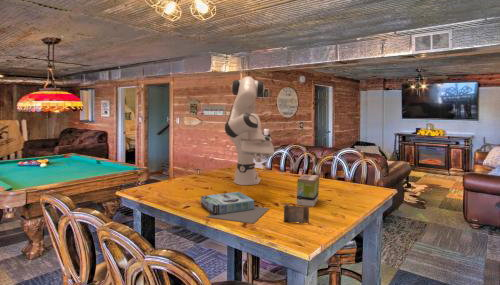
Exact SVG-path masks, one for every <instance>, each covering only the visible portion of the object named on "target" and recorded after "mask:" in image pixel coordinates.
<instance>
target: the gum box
mask: <svg viewBox="0 0 500 285" xmlns="http://www.w3.org/2000/svg"><path fill="white" fill-rule="evenodd" d="M200 205H201V206H203V207H204V208H205V209H206V210H207V211H208V212H210V214H213V215H214V214H221V213H228V212H236V211H243V210H250V209H254V206H255V199H253V198H251V197H249V196H248V195H245V193H242V192H241V191H235V192H225V193H218V194H208V195H201V196H200Z"/></svg>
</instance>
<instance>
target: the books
mask: <svg viewBox="0 0 500 285" xmlns="http://www.w3.org/2000/svg"><path fill="white" fill-rule="evenodd" d="M290 204H291V203H286V202H285V203H284V207H283V222H284V221H285V220H289V221H288V223H289V222H299V223H298V224H301V223H308V224H307V225H309V224H310V206H301V205H290ZM285 222H286V221H285Z"/></svg>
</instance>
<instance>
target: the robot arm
mask: <svg viewBox="0 0 500 285" xmlns="http://www.w3.org/2000/svg"><path fill="white" fill-rule="evenodd" d="M230 89H231V90H230V91H231V92H232V94H233V95H234V96H236V97H235V100H234V101H233V103H232V105H231V109H230V112H229V116H228V119H227V121H226V122H225V124H224V131H225V134H226V135H227V136H228V137H229V140H230V141H231V142H232V143H233V144H234V146H235V149H236V151H237V154H236V155H237V163H236V170H235V171H234V180H233V181H232V182H233V183H235V184H236V185H239V186H251V185H252V186H253V185H259V183H260V182H261V180H262V179H261V178H259V175H258V174H259V172H258V171H257V170H256V168H255V166H256V163H262V161H263V160H262V158H263V157H272V156H273V155H274V154H275V149H274V147H275V146H274V144H273V143H272V138H271V137H268V136H266V135H264V134H263V132H262V128H263V127H262V122H261V119H260V116H259V115H258V114H256V98H257V99H259V97H262V96H263V95H264V93H265V89H266V87H265V84H264V82H263V81H262V80H259V79H258V80H257V79H254V78H253V77H252V76H244V77H243V78H242V79H235V80H233V81H232V83H231V88H230ZM254 159H255V162H254Z"/></svg>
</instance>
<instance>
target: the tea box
mask: <svg viewBox="0 0 500 285" xmlns="http://www.w3.org/2000/svg"><path fill="white" fill-rule="evenodd" d="M296 186H297V187H296V201H295V202H296V205H295V206H301V207H314V206H316V204H317V202H318V200H319V192H320V191H319V190H320V187H319V186H320V176H319V175H318V174H317V175H316V174H314V175H313V174H305V173H304V174H303V173H302V174H301V175H300V176H299V177H298V178H297V185H296Z"/></svg>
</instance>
